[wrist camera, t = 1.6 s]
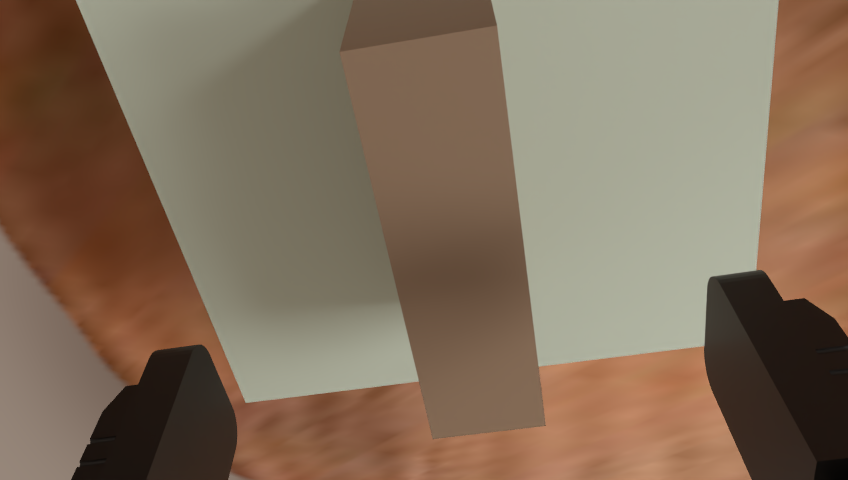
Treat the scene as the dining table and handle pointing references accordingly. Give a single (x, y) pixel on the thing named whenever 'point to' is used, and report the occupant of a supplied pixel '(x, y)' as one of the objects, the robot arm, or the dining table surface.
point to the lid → (448, 181)
